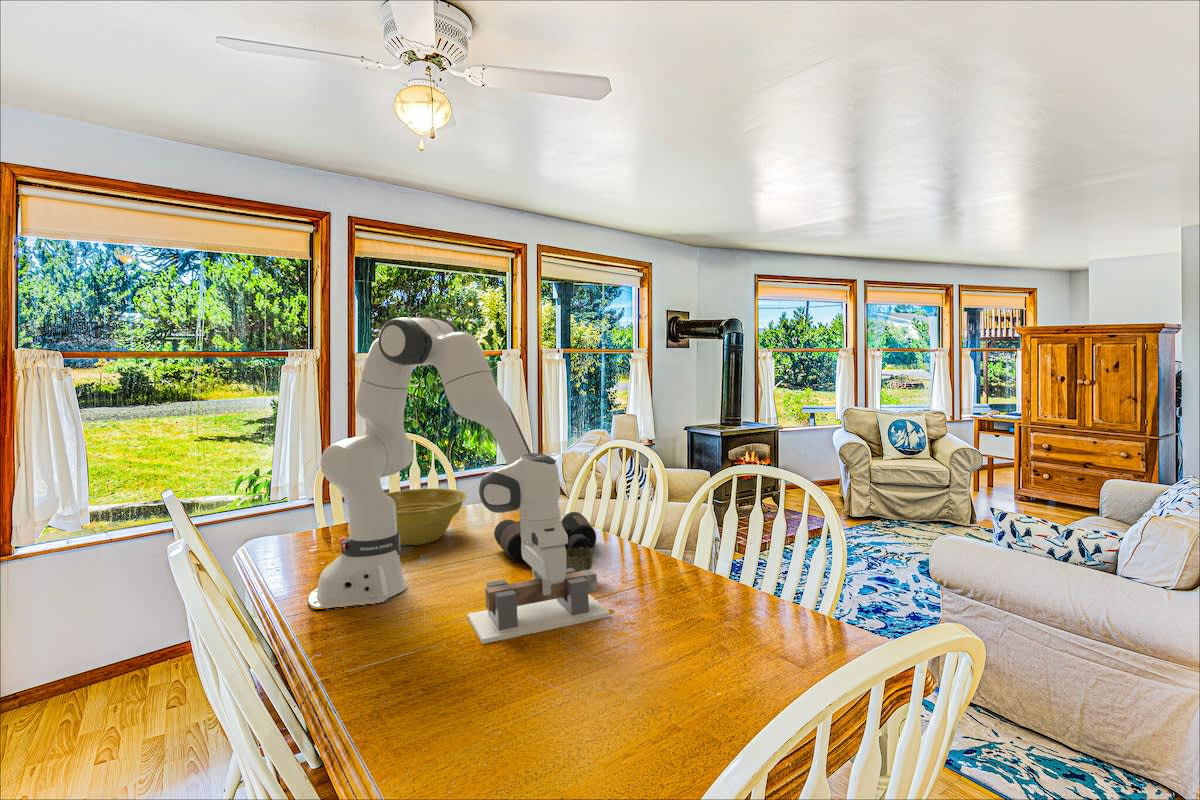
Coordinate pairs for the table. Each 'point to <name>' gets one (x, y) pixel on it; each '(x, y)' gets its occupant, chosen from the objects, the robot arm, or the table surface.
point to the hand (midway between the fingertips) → (542, 590)
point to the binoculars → (572, 523)
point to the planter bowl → (425, 513)
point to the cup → (579, 558)
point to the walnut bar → (539, 589)
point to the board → (535, 612)
